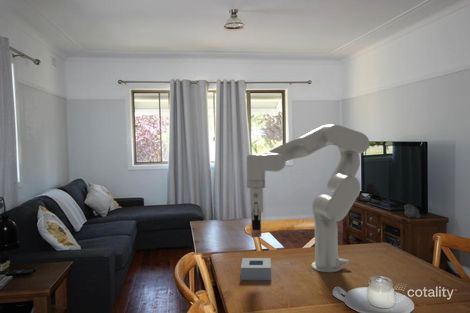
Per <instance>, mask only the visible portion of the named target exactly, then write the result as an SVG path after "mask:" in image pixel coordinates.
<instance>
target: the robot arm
mask: <svg viewBox="0 0 470 313" xmlns="http://www.w3.org/2000/svg"><path fill="white" fill-rule="evenodd" d="M328 146H336V147H338V151H339V153H340V159H339V162H338V164H337V166H336V168H335V169H334V171H333V172H332V174H331V176H330V178H329V179H328V181H327V184H326V187H327V189H328V192H330V193H331V194H332V195H329V194H324V193H323V194H319V195H317V196H316V197H315V198H314V199H313V202H312V213H313V220H314V221H313V222H314V261H313V262H312V263H311V268H312V269H313V270H314V271H317V272H319V273H320V272H322V273H337V272H339V271H341V270H342V265H350V260H349V259H346V258H340V257H339V252H338V250H339V249H338V248H339V247H338V244H339V242H338V240H339V238H338V222H340V221H342V220H343V219H344V218H345V217H346V216H347V215H348V213H349V211H351V208H352V207H353V204H354V203H355V201H356V200H357V198H358V196H359V195H360V190H361V184H360V181H359V179H358V178H357V177H356V175H357V173H358V171H359V168H360V165H361V159H360V154H362V153H365V152H367V151H368V149H369V147H370V140H369V137H368V136H367V135H366V133H365V134H364V132H361V131H357V130H356V129H355V130H354V129H351V128H349V127H346V126H343V125H339V124H336V123H335V124H324V125H321V126H319V127H318V128H314V129H313V130H311V131H310V132H307V133H306V134H304V135H302V136H299V137H297V138H295V139H292V140H290V141H287V142H285V143H283V144H281V145H279V146H277V147H274V148H272V149H270V150H269V151H266V152H265V153H264V154H262V153H249V154H248V155H246V188H247V189H249V205H250V213H251V212H252V213H253V220H252V230H260V212H261V214H263V213H264V188H266V172H273V173H275V172H280V171H282V170H283V169H284V168H285V166H286V162H289V161H291V160H295V159H302V158H305V157H309V156H310V155H312V154H314V153H317V152H318V151H320V150H322V149H323V148H326V147H328ZM254 211H255V212H254ZM258 211H259V212H258Z"/></svg>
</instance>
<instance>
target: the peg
mask: <svg viewBox="0 0 470 313" xmlns="http://www.w3.org/2000/svg"><path fill="white" fill-rule="evenodd" d="M254 212H255V211H254ZM258 212H259V211H258ZM250 213H251V214H250V217H251V219H250V221H251V223H250V224H251V229H250V230H251V233H250V234H251V237H252V238H261V237H262V212H260V230H252V220H253V213H252V212H251V211H250Z"/></svg>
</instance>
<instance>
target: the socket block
mask: <svg viewBox="0 0 470 313" xmlns="http://www.w3.org/2000/svg"><path fill="white" fill-rule="evenodd" d="M240 280H241V281H272V262H271V257H255V258H254V257H242V260H241V265H240Z"/></svg>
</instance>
